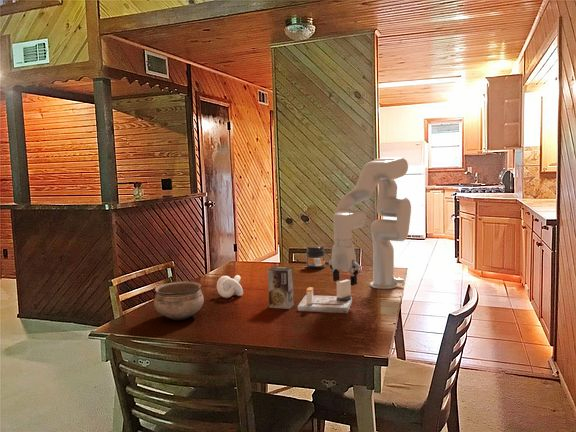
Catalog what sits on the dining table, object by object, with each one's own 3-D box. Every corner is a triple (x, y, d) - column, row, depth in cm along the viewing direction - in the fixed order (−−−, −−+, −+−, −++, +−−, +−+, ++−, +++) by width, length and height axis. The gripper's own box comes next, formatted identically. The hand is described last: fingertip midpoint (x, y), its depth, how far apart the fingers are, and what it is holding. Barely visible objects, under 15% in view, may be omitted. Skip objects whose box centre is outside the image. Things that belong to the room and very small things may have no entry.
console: (351, 301, 202) (351, 296, 202) (347, 313, 187) (347, 307, 186) (305, 299, 207) (305, 294, 207) (297, 310, 191) (297, 305, 191)
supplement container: (319, 270, 262) (318, 248, 261) (303, 268, 268) (302, 247, 266) (328, 266, 271) (328, 245, 269) (312, 264, 276) (311, 244, 275)
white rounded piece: (250, 295, 216) (250, 275, 215) (230, 301, 208) (229, 281, 207) (234, 291, 224) (233, 272, 223) (214, 296, 215) (213, 277, 214)
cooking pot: (197, 328, 175) (195, 295, 173) (146, 329, 175) (143, 296, 174) (210, 307, 199) (208, 278, 198) (165, 308, 200) (163, 279, 199)
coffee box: (294, 304, 200) (293, 267, 198) (289, 309, 194) (288, 270, 192) (273, 303, 203) (272, 266, 201) (268, 307, 197) (267, 269, 195)
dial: (343, 295, 204) (343, 278, 203) (354, 297, 199) (354, 280, 199) (333, 298, 200) (332, 281, 199) (344, 301, 195) (343, 283, 194)
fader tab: (313, 301, 196) (313, 287, 195) (311, 303, 192) (311, 290, 191) (308, 300, 196) (308, 287, 195) (306, 303, 192) (306, 289, 191)
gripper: (322, 241, 201) (323, 281, 204) (353, 246, 188) (354, 288, 191) (334, 238, 206) (335, 277, 209) (365, 243, 193) (366, 284, 196)
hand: (344, 282), depth 200 cm, fingers open, 9 cm apart
